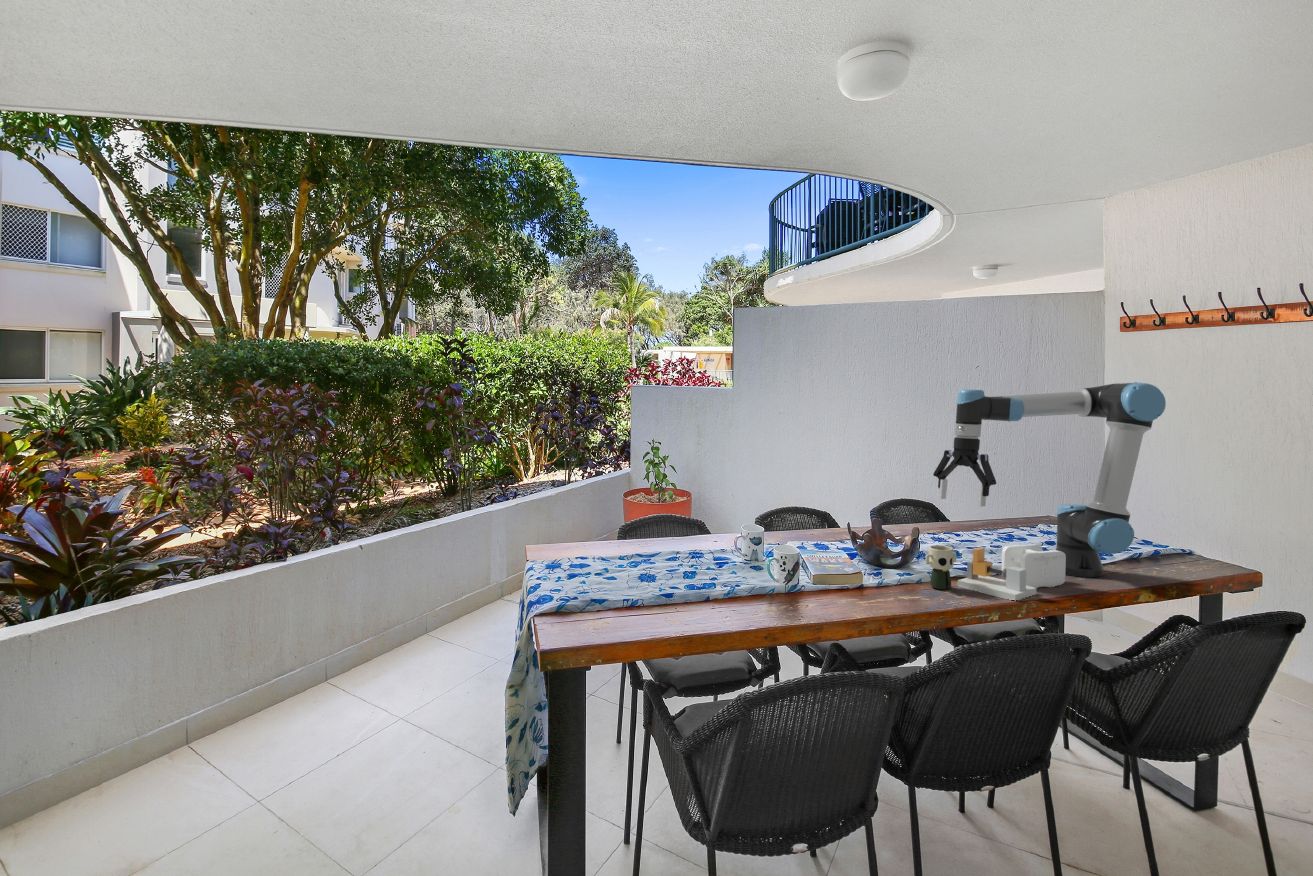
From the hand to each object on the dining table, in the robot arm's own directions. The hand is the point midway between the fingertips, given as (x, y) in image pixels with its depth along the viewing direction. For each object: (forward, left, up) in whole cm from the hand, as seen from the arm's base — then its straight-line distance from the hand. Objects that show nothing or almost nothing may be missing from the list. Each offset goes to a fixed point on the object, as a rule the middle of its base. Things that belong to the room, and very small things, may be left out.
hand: (961, 502), depth 202 cm
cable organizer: (-16, +15, -27) cm, 34 cm away
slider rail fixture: (0, +12, -26) cm, 29 cm away
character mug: (+11, 0, -26) cm, 29 cm away
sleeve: (0, +7, -22) cm, 23 cm away
